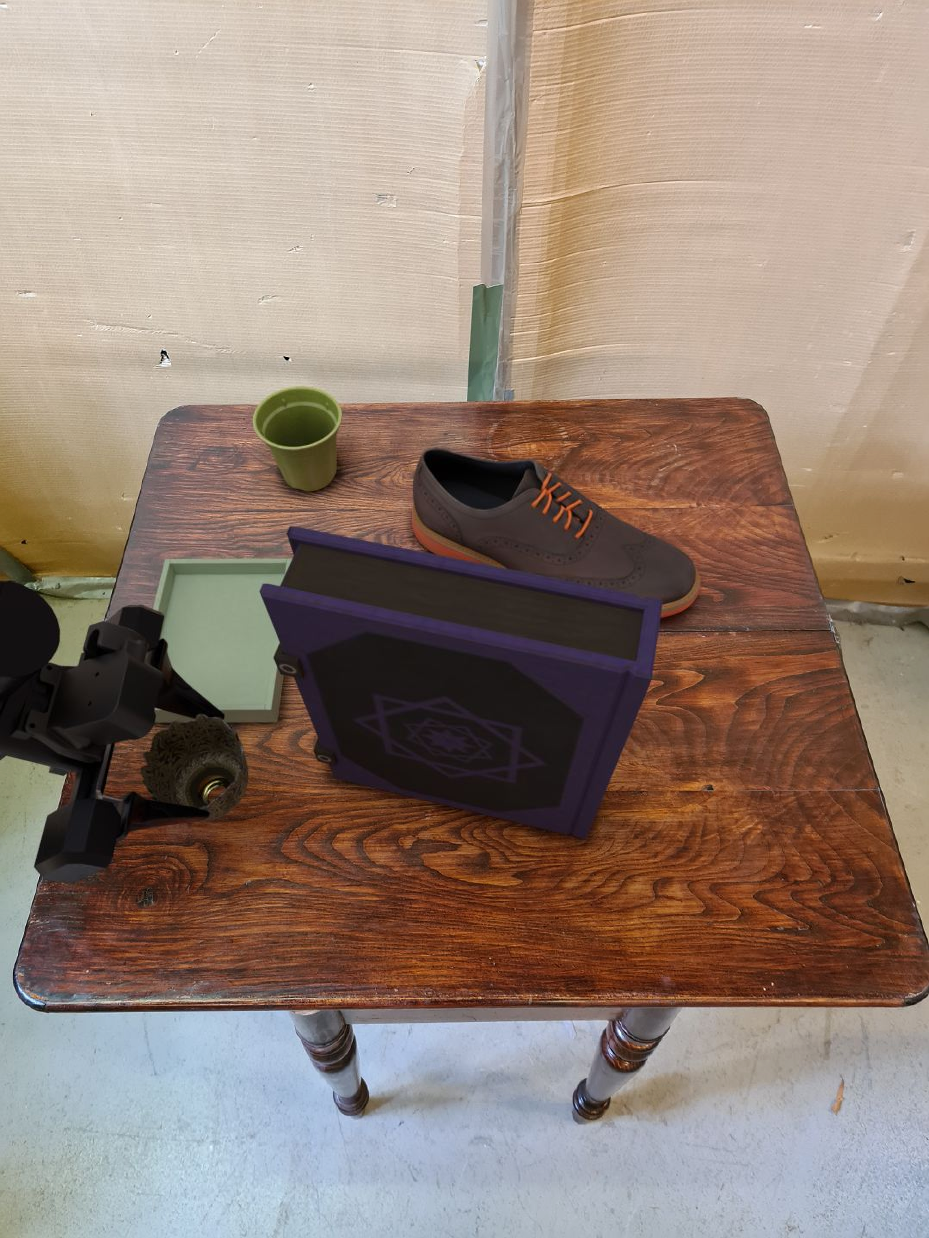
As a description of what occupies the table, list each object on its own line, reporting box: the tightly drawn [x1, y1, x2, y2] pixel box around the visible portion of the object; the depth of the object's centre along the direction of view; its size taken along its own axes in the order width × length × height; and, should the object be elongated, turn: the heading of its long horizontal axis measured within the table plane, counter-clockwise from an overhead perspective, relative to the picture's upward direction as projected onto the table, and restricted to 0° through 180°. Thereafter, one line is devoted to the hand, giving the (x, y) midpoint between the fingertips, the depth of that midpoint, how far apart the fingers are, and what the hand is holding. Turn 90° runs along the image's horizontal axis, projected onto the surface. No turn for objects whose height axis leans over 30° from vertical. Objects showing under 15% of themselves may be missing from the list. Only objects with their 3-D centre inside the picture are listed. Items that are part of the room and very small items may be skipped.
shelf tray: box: [152, 557, 293, 724], centre depth 78 cm, size 13×17×3 cm
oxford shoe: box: [411, 447, 702, 618], centre depth 80 cm, size 11×31×11 cm, turn 69°
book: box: [259, 525, 663, 840], centre depth 59 cm, size 24×6×30 cm, turn 76°
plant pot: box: [252, 385, 343, 492], centre depth 88 cm, size 9×9×9 cm
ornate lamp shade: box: [140, 714, 250, 822], centre depth 62 cm, size 8×7×8 cm
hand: (214, 766), depth 60 cm, fingers closed on ornate lamp shade, 7 cm apart
